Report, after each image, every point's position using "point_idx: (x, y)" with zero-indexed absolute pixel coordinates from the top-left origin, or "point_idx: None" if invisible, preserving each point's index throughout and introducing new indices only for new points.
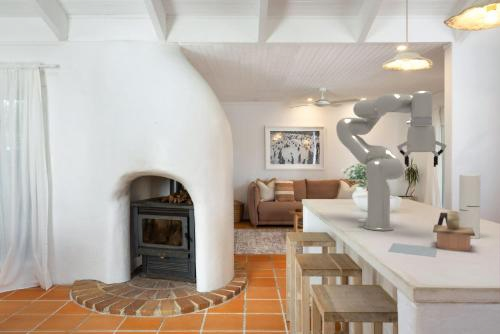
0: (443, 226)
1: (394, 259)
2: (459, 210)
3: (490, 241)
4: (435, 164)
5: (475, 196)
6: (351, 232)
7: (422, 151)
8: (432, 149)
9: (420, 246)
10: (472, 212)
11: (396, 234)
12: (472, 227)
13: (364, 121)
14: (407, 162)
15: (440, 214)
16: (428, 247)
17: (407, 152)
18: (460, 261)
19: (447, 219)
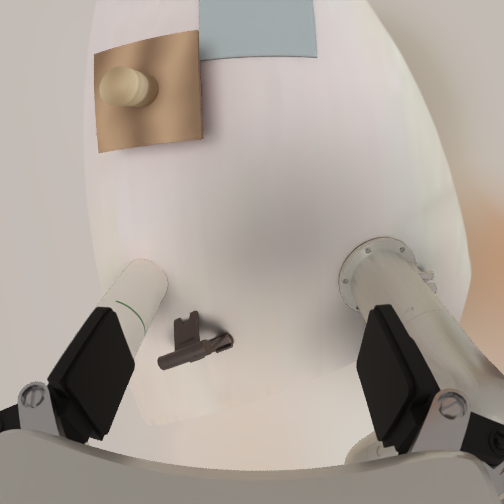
0: (171, 120)
1: None
2: (143, 319)
3: (100, 244)
4: (89, 316)
5: (77, 332)
6: (440, 180)
7: (172, 466)
8: (7, 439)
9: (241, 49)
10: (106, 298)
11: (326, 211)
12: (125, 274)
13: None
14: (394, 331)
15: (210, 351)
16: (220, 49)
17: (442, 446)
18: None
19: (146, 80)
